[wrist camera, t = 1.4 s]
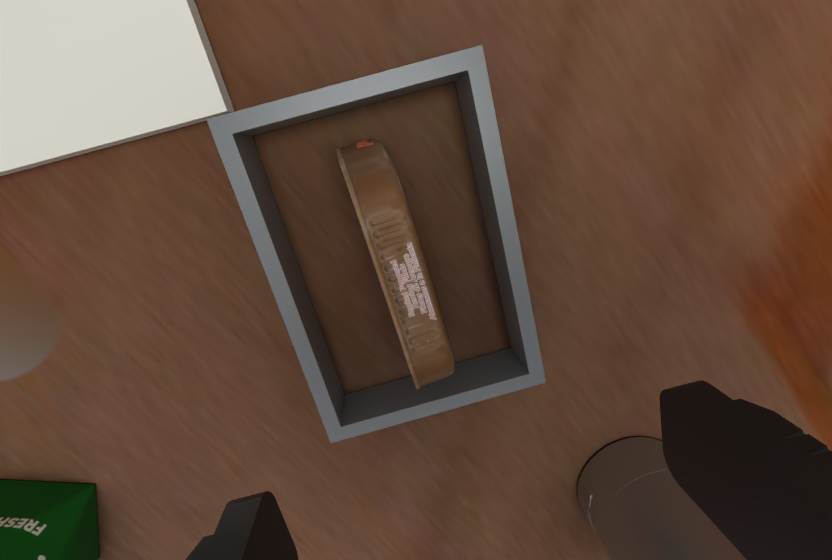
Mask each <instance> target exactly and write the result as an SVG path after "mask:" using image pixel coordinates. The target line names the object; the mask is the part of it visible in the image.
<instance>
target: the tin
mask: <svg viewBox="0 0 832 560" xmlns="http://www.w3.org/2000/svg"><path fill="white" fill-rule="evenodd" d="M335 151H336V153H337V157H338V160H339V163H340V167H341V170H342V172H343V175H344V178H345V181H346V184H347V187H348V190H349V193H350V196H351V199H352V202H353V205H354V207H355V211H356V214H357V216H358V219H359V222H360V225H361V228H362V231H363V235H364V237H365V240H366V243H367V246H368V249H369V252H370V255H371V258H372V261H373V264H374V267H375V270H376V273H377V276H378V278H379V281H380V284H381V287H382V290H383V293H384V296H385V299H386V302H387V305H388V308H389V310H390V313H391V316H392V319H393V322H394V325H395V328H396V331H397V334H398V337H399V340H400V343H401V346H402V349H403V352H404V355H405V358H406V361H407V364H408V367H409V369H410V372H411V375H412V378H413V381H414V384H415V387H416V389H419V388H421V387H422V386H424V385H427V384H429V383H432V382H435V381H438V380H440V379H443V378H445V377H448V376H450V375H451V374H453V373H454V369H455V364H454V358H453V353H452V349H451V345H450V342H449V338H448V334H447V331H446V327H445V324H444V320H443V317H442V314H441V310H440V307H439V303H438V300H437V297H436V293H435V290H434V286H433V283H432V280H431V276H430V273H429V270H428V266H427V263H426V260H425V256H424V253H423V250H422V247H421V244H420V240H419V237H418V234H417V231H416V228H415V225H414V222H413V219H412V215H411V212H410V209H409V206H408V203H407V200H406V197H405V194H404V191H403V188H402V185H401V183H400V180H399V177H398V175H397V172H396V170H395V167H394V165H393V162H392V160H391V158H390V156H389V154H388V152H387V150H386V149H385V147H384V146H383V145H382V144H381V143H380V142H378V141H376V140H375V139H369V140H365V141H362V142H359V143H356V144H353V145H349V146H346V147H342V148H340V147H336V148H335Z"/></svg>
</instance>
